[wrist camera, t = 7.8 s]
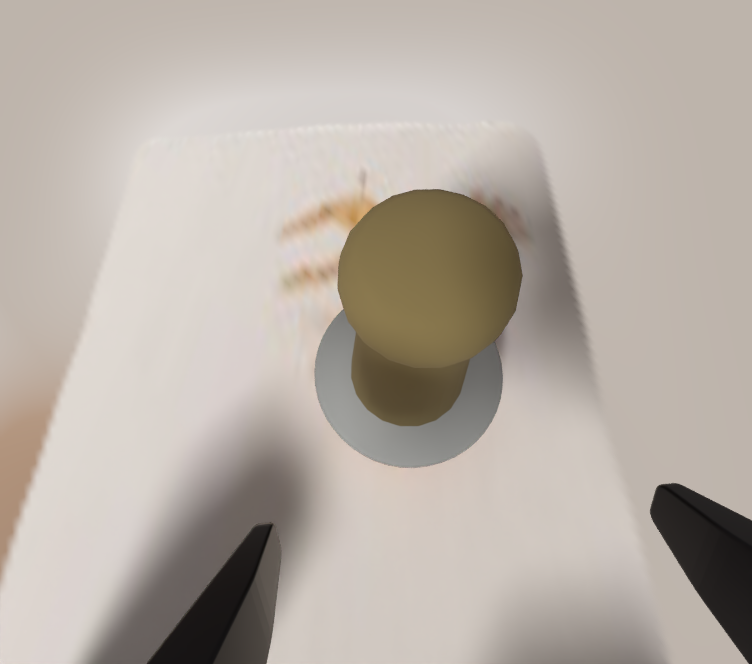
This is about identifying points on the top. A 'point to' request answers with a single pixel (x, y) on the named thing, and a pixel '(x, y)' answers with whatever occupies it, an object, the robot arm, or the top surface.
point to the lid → (403, 441)
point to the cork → (424, 299)
